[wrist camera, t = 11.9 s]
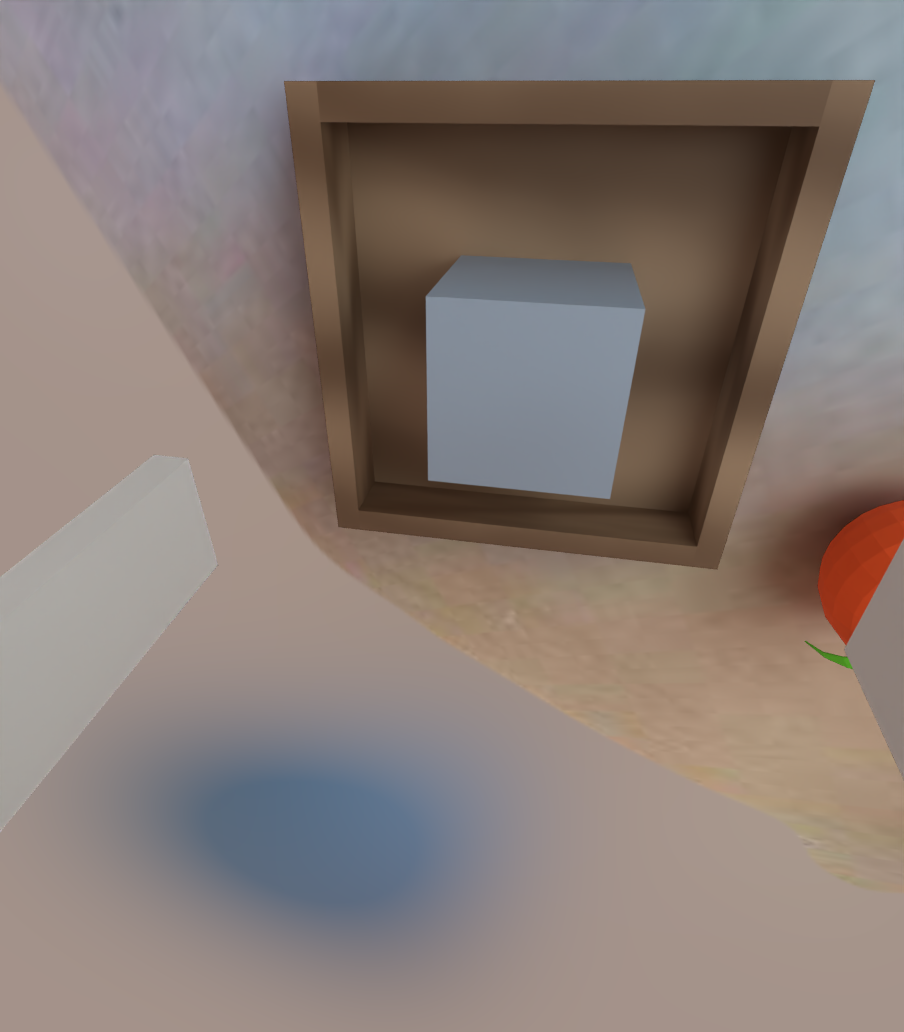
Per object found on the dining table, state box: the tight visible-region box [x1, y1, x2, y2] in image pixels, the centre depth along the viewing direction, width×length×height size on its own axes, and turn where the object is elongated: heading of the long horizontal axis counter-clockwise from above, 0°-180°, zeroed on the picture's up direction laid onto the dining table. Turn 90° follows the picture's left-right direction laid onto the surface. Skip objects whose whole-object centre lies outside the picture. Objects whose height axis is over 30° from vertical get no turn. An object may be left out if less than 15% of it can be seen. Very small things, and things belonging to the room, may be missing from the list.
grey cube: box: [426, 255, 645, 499], centre depth 21 cm, size 6×6×6 cm
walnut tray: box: [284, 80, 875, 569], centre depth 22 cm, size 16×16×3 cm
